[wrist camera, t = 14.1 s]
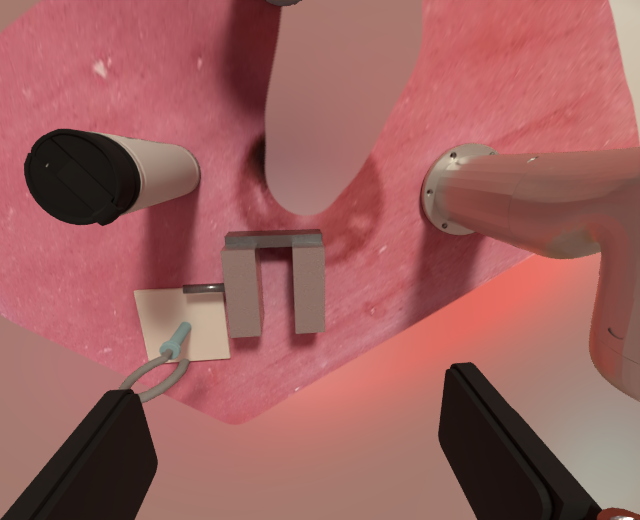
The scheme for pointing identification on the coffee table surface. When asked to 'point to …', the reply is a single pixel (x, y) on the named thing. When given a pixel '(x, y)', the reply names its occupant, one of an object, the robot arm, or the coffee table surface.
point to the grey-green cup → (283, 2)
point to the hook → (167, 352)
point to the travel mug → (105, 175)
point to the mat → (174, 308)
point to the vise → (247, 279)
